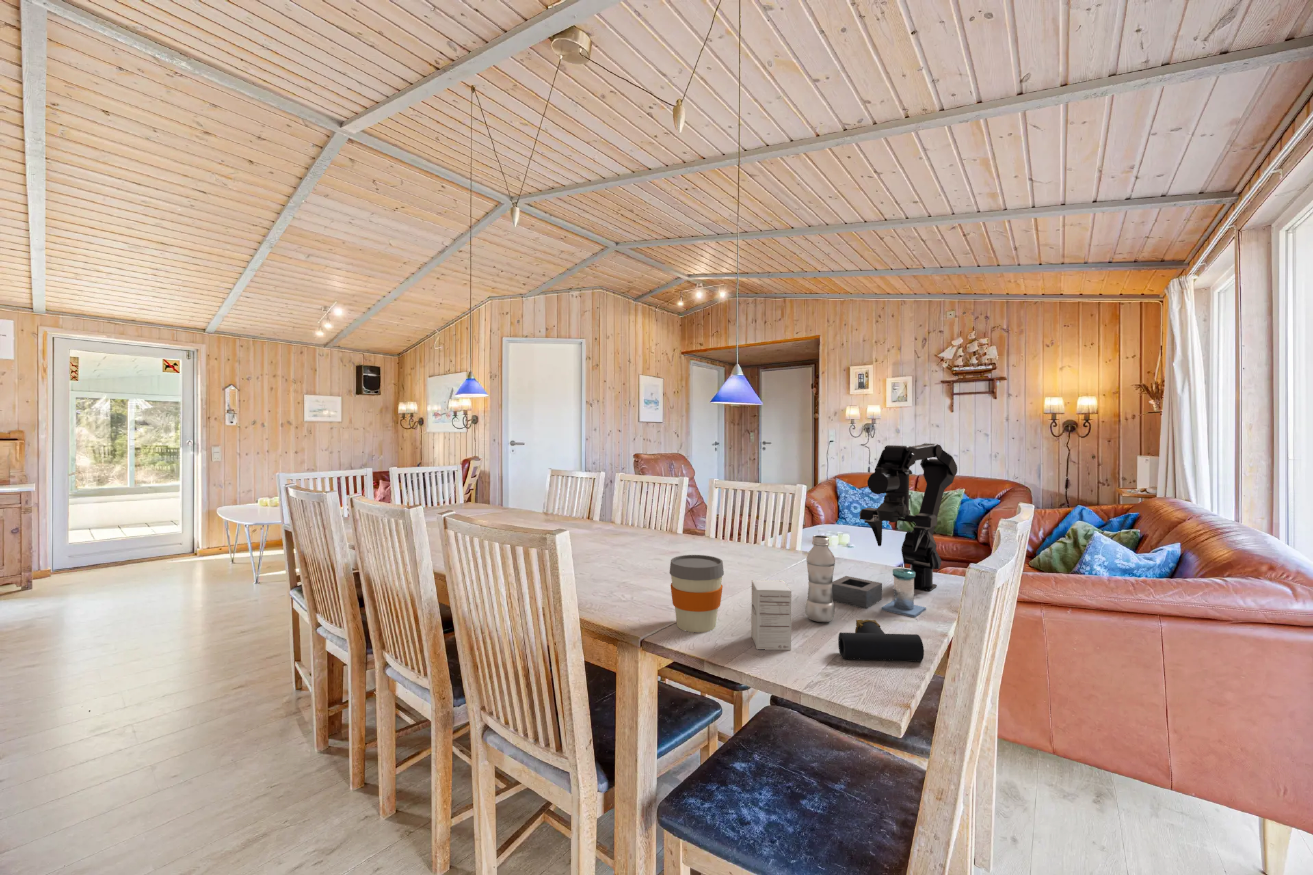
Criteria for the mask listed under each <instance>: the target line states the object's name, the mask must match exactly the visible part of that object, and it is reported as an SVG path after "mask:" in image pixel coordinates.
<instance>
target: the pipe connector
mask: <svg viewBox="0 0 1313 875" xmlns="http://www.w3.org/2000/svg"><path fill="white" fill-rule="evenodd" d="M855 626H856V627H855V628H854V629H855V630H854V632H839V634H838V637H837V640H838V652H839V655H840V656H841V658H842V659H843V660H859V661H860V660H862V661H863V660H865V661H866V660H867V661H892V660H893V661H895V662H897V661H902V662H922V661H923V659H924V658H925V656H924V655H925V649H924V647H925V646H924V644H923V640H922V638H921V636H920V635H919V634H916V633H915V634H909V633H885V632H884V630H882V628H881V625H880V624H879V623H878V622H877V620H876V619H855Z"/></svg>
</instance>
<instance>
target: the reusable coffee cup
mask: <svg viewBox="0 0 1313 875" xmlns="http://www.w3.org/2000/svg"><path fill="white" fill-rule="evenodd" d="M724 572H725V571H724V563H723V560H722V559H721V558H719V557H716V556H710V555H704V554H685V555H684V554H683V555H678V556H675V557H673V558H671V559H670V565H669V574H670V578H671V583H670V592H671V602H672V605H673V606H674V609H675V610H674V611H675V619H676V627H677V628H678V629H680V630H681V631H684V630H686V631H685V632H687V631H688V633H694V632H701V633H707V632H710V630H711V631H713V630H715V629H716V626H717V617H718V611H719V608H720V607H721V601H722V594H723V588H724V586H723V584H722V581H723V576H724V574H725V573H724Z"/></svg>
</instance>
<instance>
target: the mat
mask: <svg viewBox="0 0 1313 875" xmlns="http://www.w3.org/2000/svg"><path fill="white" fill-rule="evenodd" d="M926 610H927V607H925V606H922V605H918V604H914V609H913V610H900V609H897V608H895V607H894V599H893V600H892V601H890V602H888V603H886V604H884V605H883V606H882V607H881V611H883V612H884V611H885V612H889V613H893V614H894V613H895V614H897V615H902V616H905V617H910V618H914V619H915V618H917V617H918V616H919V615H921V614H922V613H923V612H925V611H926Z"/></svg>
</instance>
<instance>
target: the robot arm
mask: <svg viewBox="0 0 1313 875" xmlns="http://www.w3.org/2000/svg"><path fill="white" fill-rule="evenodd" d="M917 461H920V463H919V464H920V467H921V468H922V471H923V473H922V475H923V478H924V480H925V483H926V485H925V489H924V492H923V493H924V494H923V496H922V500H921V505H920V509H919V512H918V513H917V514H915V515H914V514H913V515H911V510H910V507H909V506H910V500H911V494H910V475H912V474H913V470H911V469H910V467H911V466H914V465H915V464H916V462H917ZM957 473H958V465H957V463H956V461H955V459H954V457H953V456H952V455H950V454H949V453H948V452H947V451H945V450H944V449H943V447H942V446H941V444H938V443H926V442H925V443H921V444H919V445H918V444H917V445H897V444H895V445H894V444H893V445H892V444H891V445H889V444H888V445H885V446H884V447H883V450H882V452H881V453H880V455H879V459H878V461H877V463H876V466H875V467H874V472H873V473H871V474H870V475H869V476H868V479H867V487H868V489H869V490H870V492H872V493H873V494H875V495H882V494H885V495H884V497H883V502H882V503H881V504H880V505H879V506H878V507H877V508H876V507H866V508H862V509H861V510H860V512H859V520H863V522H864V523H865V524H867V525H868V526H870V528H871V531H872V532H873V535H874V538H875V540H876V544H877V546H878V547H881V546H882V542H883V522H889V523H896V522H898V521H899V522H907V523H908V522H909V523H914V525H915V526H913V527H912V529H913V530H912V531H907V532H906V533H905V536H904V540H903V542H902V545H901V548H900V549H901V550H900V551H901V556H902V561H903V565H910V570H913V571H915V578H914V589H916V590H917V589H918V590H922V591H928V592H929V591H930V592H931V591H932V590H933V589H936V588H937V587H938V585H937V584H935V583H933V582H934V580H933V579H934V570H939V569H940V568H941V565H942V559H941V557H940V555H939V553H938V551H937V543H936V540H935V538H934V531H935V527H937V526H938V516H939V512H940V509H941V508H940V507H941V506H942V505H941V504H942V500H943V496H944V492H945V490H946V489H947V488H948V487H950V485H952V484H953V482H954V480H955V476H956V475H957Z"/></svg>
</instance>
